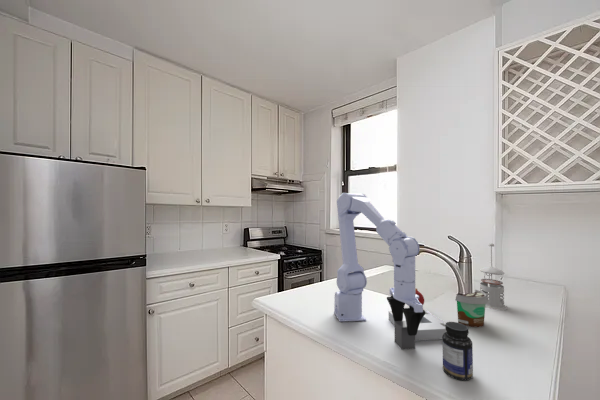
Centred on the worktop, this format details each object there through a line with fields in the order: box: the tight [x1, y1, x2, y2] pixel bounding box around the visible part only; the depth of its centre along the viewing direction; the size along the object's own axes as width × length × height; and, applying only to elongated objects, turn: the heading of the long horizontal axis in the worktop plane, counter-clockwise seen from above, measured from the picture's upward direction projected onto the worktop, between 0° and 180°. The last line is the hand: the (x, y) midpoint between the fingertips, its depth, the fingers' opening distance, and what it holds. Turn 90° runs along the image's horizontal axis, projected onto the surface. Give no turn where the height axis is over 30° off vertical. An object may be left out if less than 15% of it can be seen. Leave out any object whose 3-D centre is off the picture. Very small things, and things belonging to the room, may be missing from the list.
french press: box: [479, 242, 508, 311], centre depth 105 cm, size 10×12×25 cm
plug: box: [394, 321, 416, 350], centre depth 73 cm, size 4×4×6 cm
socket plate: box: [388, 309, 447, 342], centre depth 83 cm, size 14×14×4 cm
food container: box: [455, 289, 489, 328], centre depth 87 cm, size 12×6×10 cm, turn 118°
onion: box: [415, 287, 425, 306], centre depth 99 cm, size 6×6×8 cm
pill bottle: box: [441, 321, 474, 381], centre depth 61 cm, size 6×6×11 cm
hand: (404, 328), depth 73 cm, fingers open, 7 cm apart
